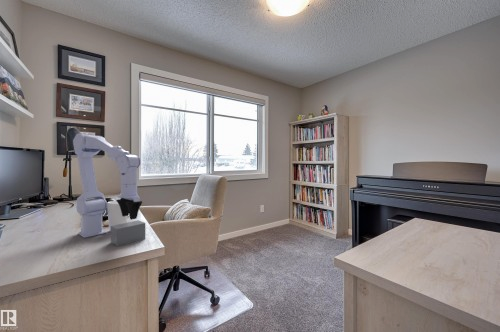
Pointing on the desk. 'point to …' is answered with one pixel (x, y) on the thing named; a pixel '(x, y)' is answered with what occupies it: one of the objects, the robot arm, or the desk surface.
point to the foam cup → (115, 214)
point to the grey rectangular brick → (127, 232)
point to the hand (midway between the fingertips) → (129, 217)
